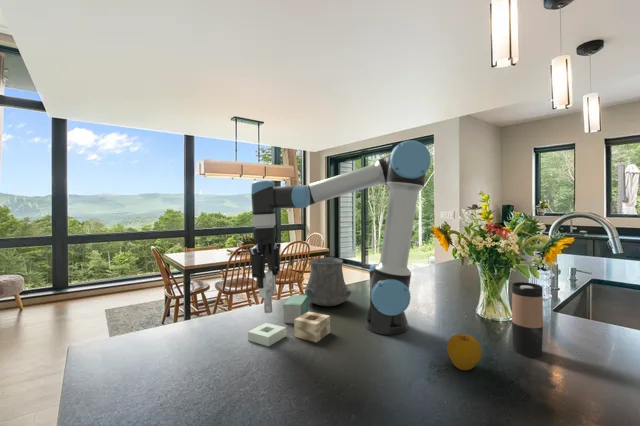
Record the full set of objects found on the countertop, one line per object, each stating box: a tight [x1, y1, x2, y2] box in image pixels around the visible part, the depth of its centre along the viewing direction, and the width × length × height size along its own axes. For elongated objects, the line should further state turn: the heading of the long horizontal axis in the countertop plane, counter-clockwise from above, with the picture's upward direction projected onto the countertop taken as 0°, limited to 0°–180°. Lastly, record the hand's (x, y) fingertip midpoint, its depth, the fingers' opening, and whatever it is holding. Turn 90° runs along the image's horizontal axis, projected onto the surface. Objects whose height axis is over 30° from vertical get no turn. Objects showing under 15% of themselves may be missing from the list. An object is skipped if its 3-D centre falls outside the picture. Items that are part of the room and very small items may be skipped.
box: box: [283, 294, 309, 324], centre depth 125 cm, size 7×14×8 cm, turn 171°
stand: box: [247, 322, 287, 347], centre depth 105 cm, size 9×9×3 cm
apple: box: [446, 333, 483, 371], centre depth 84 cm, size 8×8×9 cm
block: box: [293, 311, 331, 343], centre depth 107 cm, size 9×9×6 cm
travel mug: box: [511, 281, 544, 358], centre depth 92 cm, size 8×8×20 cm
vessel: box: [303, 257, 352, 307], centre depth 141 cm, size 22×22×20 cm
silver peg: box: [263, 269, 273, 314], centre depth 105 cm, size 4×4×14 cm
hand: (267, 295), depth 105 cm, fingers closed on silver peg, 4 cm apart
